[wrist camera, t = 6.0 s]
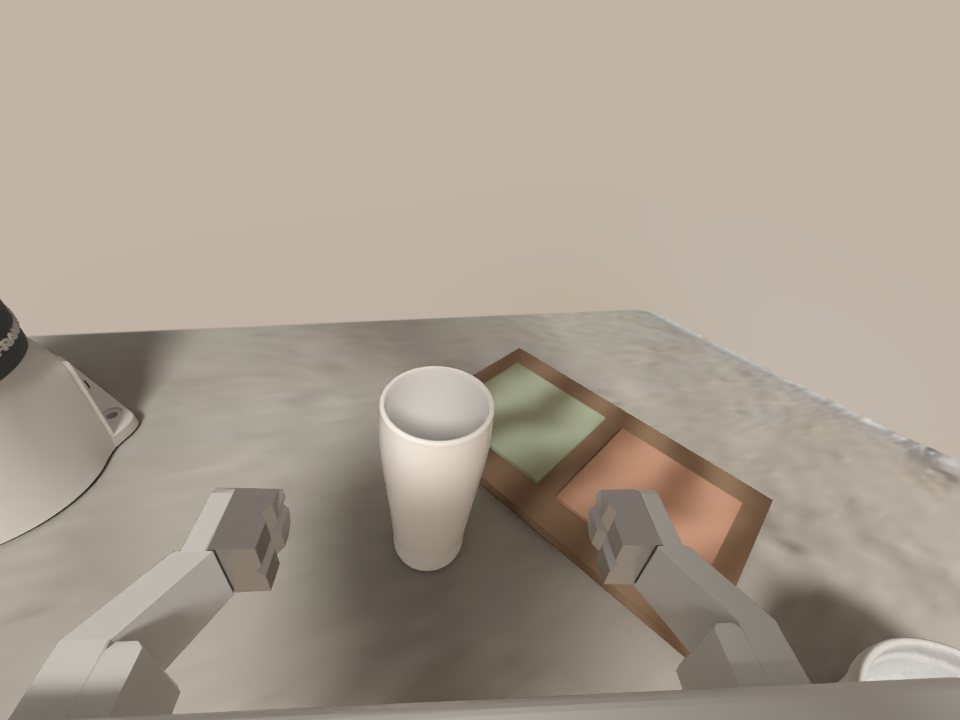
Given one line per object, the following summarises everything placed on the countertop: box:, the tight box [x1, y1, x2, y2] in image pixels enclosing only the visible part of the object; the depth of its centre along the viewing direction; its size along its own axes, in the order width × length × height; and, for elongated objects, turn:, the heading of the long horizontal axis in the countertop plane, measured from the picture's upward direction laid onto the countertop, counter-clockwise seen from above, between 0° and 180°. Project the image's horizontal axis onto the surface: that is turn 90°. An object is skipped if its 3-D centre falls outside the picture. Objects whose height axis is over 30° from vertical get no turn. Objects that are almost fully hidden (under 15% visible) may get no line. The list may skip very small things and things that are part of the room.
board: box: [474, 348, 773, 658], centre depth 41 cm, size 30×18×1 cm, turn 47°
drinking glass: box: [379, 366, 495, 571], centre depth 29 cm, size 7×7×15 cm
